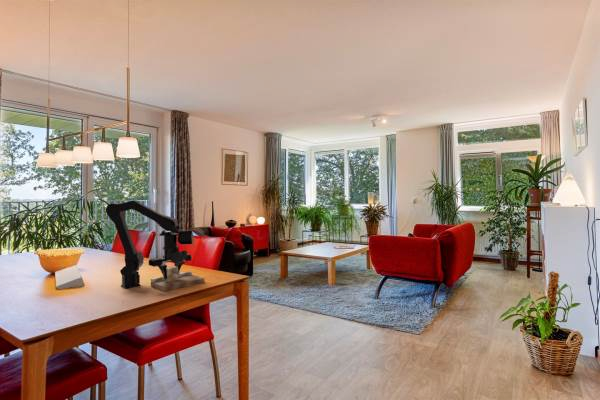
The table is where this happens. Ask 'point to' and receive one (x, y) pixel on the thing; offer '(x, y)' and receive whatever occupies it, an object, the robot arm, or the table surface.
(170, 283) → the board
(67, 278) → the white wedge doorstop
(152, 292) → the table surface
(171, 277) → the ball-top joystick
